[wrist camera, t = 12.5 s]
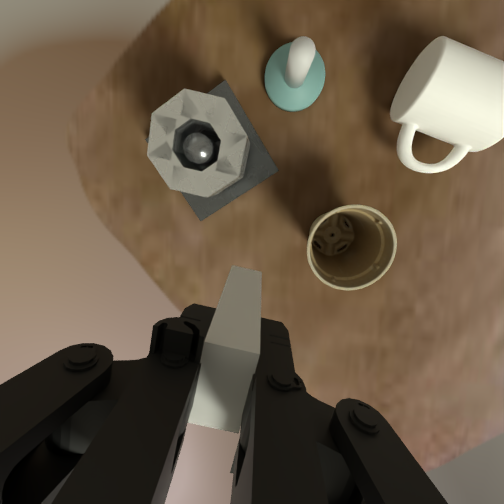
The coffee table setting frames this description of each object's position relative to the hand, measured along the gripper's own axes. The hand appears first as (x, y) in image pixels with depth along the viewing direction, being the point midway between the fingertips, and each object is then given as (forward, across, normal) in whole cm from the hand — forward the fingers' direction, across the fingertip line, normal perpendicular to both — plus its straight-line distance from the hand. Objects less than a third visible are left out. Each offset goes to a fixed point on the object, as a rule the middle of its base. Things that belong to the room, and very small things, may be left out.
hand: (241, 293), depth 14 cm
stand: (+24, +1, +18) cm, 30 cm away
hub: (+24, -7, +7) cm, 26 cm away
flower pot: (+25, +11, +1) cm, 27 cm away
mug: (+25, +18, +16) cm, 34 cm away
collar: (+20, -7, +7) cm, 23 cm away
